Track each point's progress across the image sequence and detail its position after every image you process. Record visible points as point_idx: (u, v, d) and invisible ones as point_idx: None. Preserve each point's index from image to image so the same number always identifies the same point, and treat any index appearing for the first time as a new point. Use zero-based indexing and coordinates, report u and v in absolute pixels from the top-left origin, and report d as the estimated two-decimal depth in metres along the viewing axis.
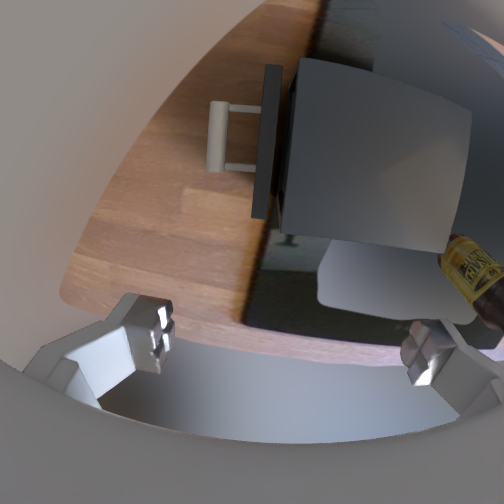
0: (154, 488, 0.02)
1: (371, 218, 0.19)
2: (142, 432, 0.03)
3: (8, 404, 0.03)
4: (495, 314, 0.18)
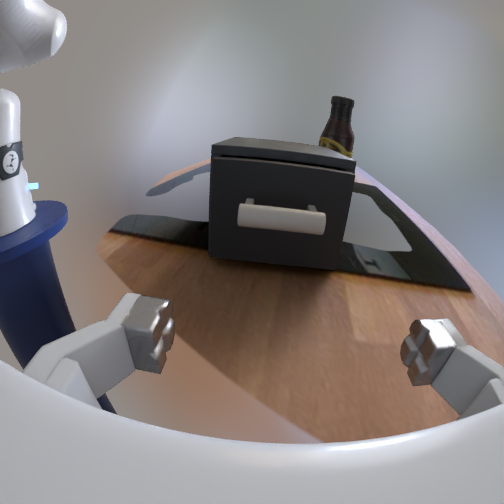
0: (154, 488, 0.02)
1: (322, 150, 0.28)
2: (142, 432, 0.03)
3: (8, 404, 0.03)
4: (344, 129, 0.41)
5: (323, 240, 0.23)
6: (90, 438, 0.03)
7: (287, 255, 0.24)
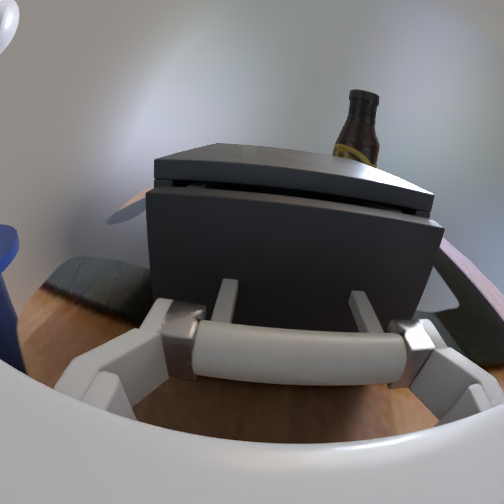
0: (154, 488, 0.02)
1: (357, 166, 0.17)
2: (142, 432, 0.03)
3: (8, 404, 0.03)
4: (367, 134, 0.30)
5: None
6: (90, 438, 0.03)
7: None
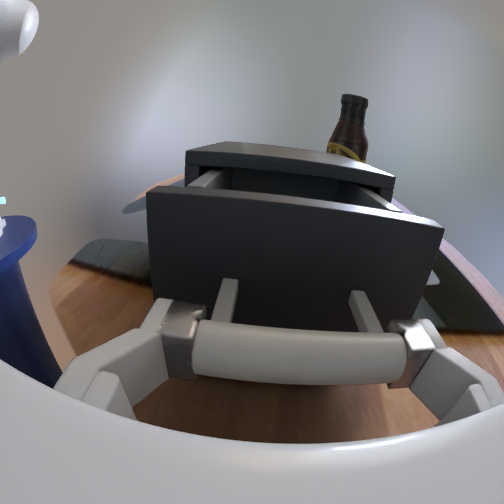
0: (154, 488, 0.02)
1: (340, 159, 0.21)
2: (142, 432, 0.03)
3: (8, 404, 0.03)
4: (357, 133, 0.34)
5: None
6: (90, 438, 0.03)
7: None
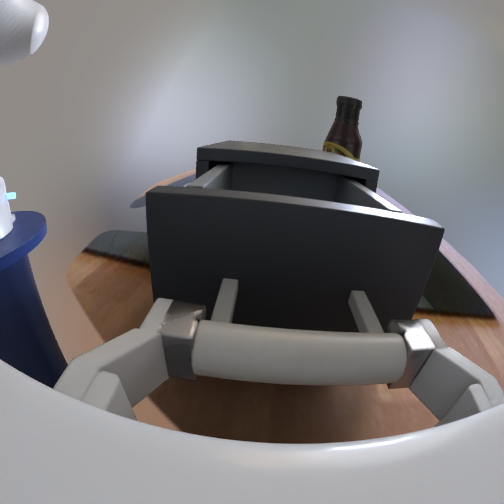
0: (154, 488, 0.02)
1: (333, 156, 0.23)
2: (142, 432, 0.03)
3: (8, 404, 0.03)
4: (351, 133, 0.37)
5: None
6: (90, 438, 0.03)
7: None
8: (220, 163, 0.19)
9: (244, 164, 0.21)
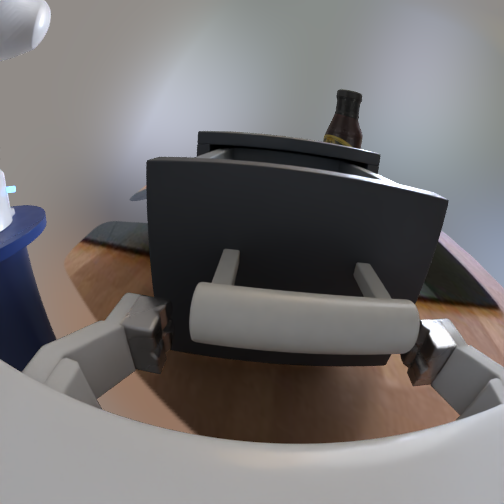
0: (154, 488, 0.02)
1: None
2: (142, 432, 0.03)
3: (8, 404, 0.03)
4: (351, 126, 0.36)
5: None
6: (90, 438, 0.03)
7: None
8: (221, 148, 0.19)
9: (244, 150, 0.21)
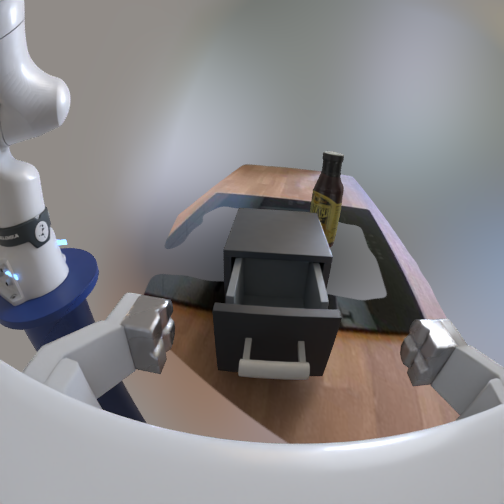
0: (154, 488, 0.02)
1: (310, 232, 0.37)
2: (142, 432, 0.03)
3: (8, 404, 0.03)
4: (334, 184, 0.50)
5: (311, 360, 0.26)
6: (90, 438, 0.03)
7: None
8: None
9: None
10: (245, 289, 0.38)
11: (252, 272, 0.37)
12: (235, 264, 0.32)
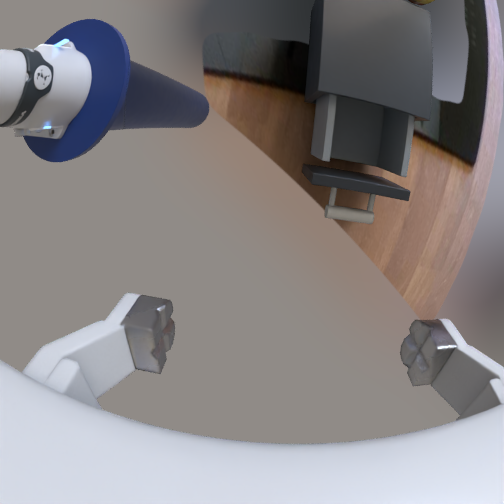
0: (154, 488, 0.02)
1: (418, 60, 0.19)
2: (142, 432, 0.03)
3: (8, 404, 0.03)
4: None
5: None
6: (90, 438, 0.03)
7: None
8: None
9: None
10: None
11: None
12: (329, 104, 0.24)
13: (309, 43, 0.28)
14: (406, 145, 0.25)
